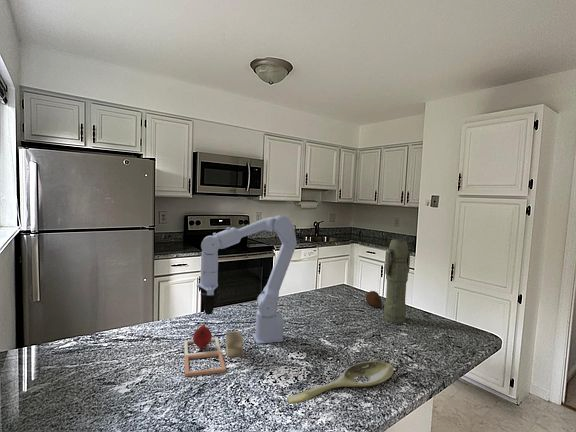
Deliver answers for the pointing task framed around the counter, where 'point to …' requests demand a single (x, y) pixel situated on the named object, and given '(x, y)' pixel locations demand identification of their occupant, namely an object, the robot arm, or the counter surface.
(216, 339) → the cream frame
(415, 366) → the counter surface
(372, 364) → the spoon
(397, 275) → the thermos
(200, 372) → the terracotta frame
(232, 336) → the birch block
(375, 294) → the potato
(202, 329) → the onion
